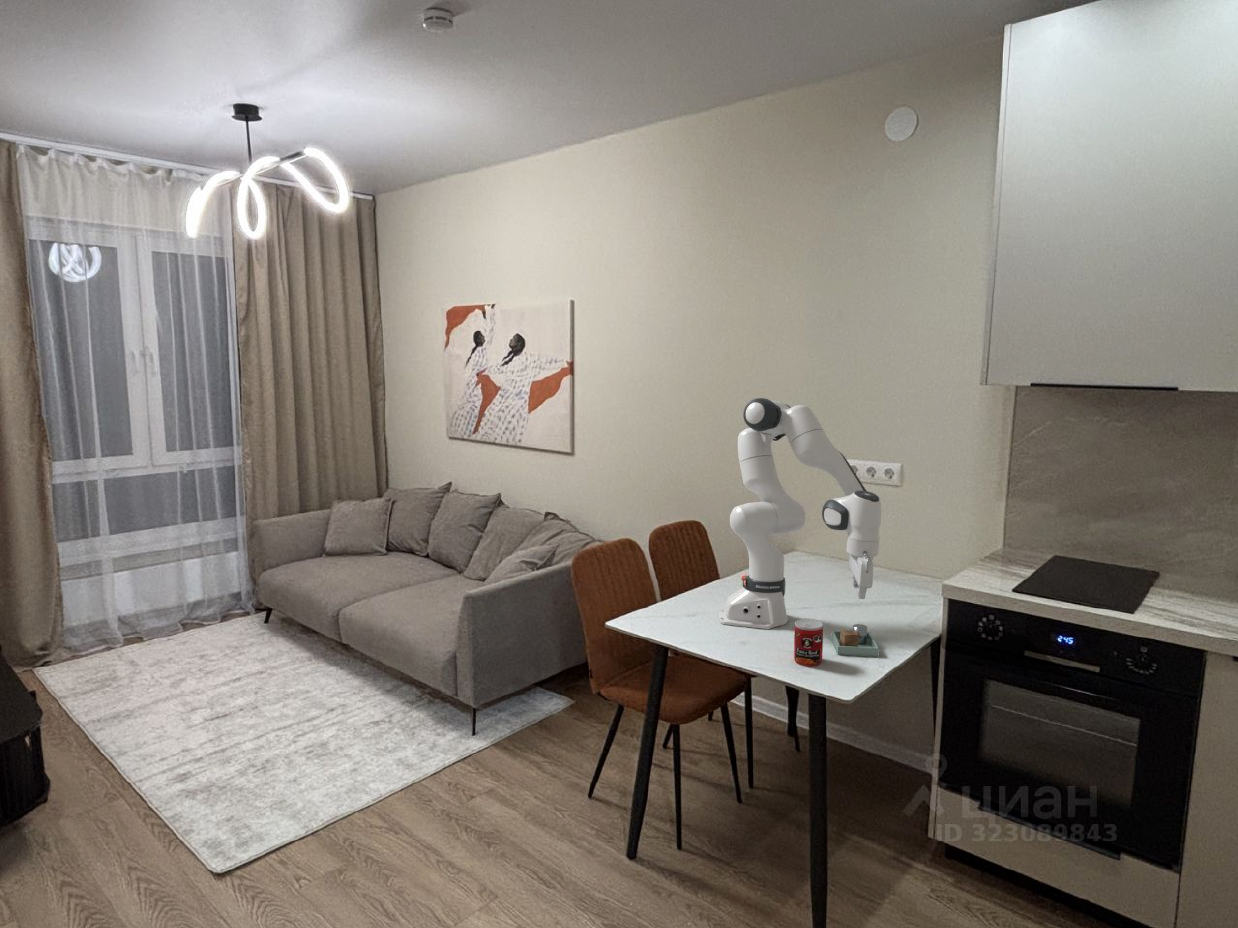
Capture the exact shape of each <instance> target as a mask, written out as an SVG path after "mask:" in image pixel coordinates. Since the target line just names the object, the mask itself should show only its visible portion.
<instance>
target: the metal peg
mask: <svg viewBox="0 0 1238 928" xmlns="http://www.w3.org/2000/svg"><path fill="white" fill-rule="evenodd" d="M852 630H854V631H855V632H856V633H857V634H858V635H859V637H858V645H866V644H867V632H868V626H867V625H865V624H861V623H860V624H859V623H855V624H853V625H852Z"/></svg>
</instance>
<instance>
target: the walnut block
mask: <svg viewBox="0 0 1238 928" xmlns="http://www.w3.org/2000/svg"><path fill="white" fill-rule="evenodd" d="M839 631H840V646H853V647H858V637H859V635H858V634H857V633H856V632H855V631H854V630H853V629H841V630H839Z"/></svg>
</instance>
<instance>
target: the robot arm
mask: <svg viewBox="0 0 1238 928" xmlns="http://www.w3.org/2000/svg"><path fill="white" fill-rule="evenodd" d="M742 415H743V420H744V423H745V424H746V426H748V427H747V428H745V429H743V430H741V431H740V432H739V434H738V436H737V456H738V462H739V467H740V474H741V478H742V483H743V486H744V487H745V489H746V490H748V491H749V492H751V493H753V494H755V496H757V498H758V499H759V501H758V502H757V501H755V502H747V503H742V504H740V505H737V506H735V507H733V509H732V510H731V512H730V515H729V525H730V528H731V531H733V533H734V534H735V535H736V536H738V537H739V538H740V539H741V540H742V541H743V543H744V545H745V547H746V550H747V553H748V560H749V561H748V572H749V573H748V575H747V574H745V573H743V574H742V575H741V576H740V577H741V578H740V579H741V581H742V587H741V588H739V589H738V590H736V591H735V592H734V593H732V594H731V595H730V594H729V596H728V597H727V599H726V601H725V605H724V608H721V609H720V610H719V611H718V613H717V614H718V615H717V620H718V622H719V623H720V624H723V625H724V626H734V627H735V626H737V627H745V628H755V629H764V630H770V629H772V628H774V627H780V626H784V625H785V624H787V623H788V622H789V618H788V615H787V610H786V603H785V595H786V585H787V584H786V582H787V581H786V578H785V556H784V553H783V551H781V550H780V549H779V548H777V547H776V546H774V545H772V542H771V536H778V535H787V534H791V533H795V532H797V531H799V530H802V528H803V526H804V524H805V523H806V511H805V509H804V507H803V506H802V504H800V502H798V501H797V500H795V499H793V498H792V497H791V496H790V495H789V494H788V493H787V492H786V490H785V488H784V487H783V486H782V483H781V482H780V480H779V476H778V471H777V469H776V464H775V459H774V455H773V451H772V441H775V442H777V441H779V440H780V439H782V438H783V437H785V436H786V438H787V440H788V442H789V445H790V447H791V450H792V452H793V454H794V456H795V457H796V459H798V461H799V462H800V463H801V464H803V465H804V466H808V467H811V468H814V469H818V470H821V471H822V472H823V471H824V472H826V473H828V474H829V475H831V476H832V477H833V478H834V479H835V481H836V482H837V484H838V485H839V487H840V489H841V490H842V492H843V494H844V495H845V496H842V497H834V498H831V499H828V500H826V502H825V503H824V504H823V506H822V510H821V517H822V521H823V523H824V525H826V526H827V528H829V529H830V530H834V531H846V532H847V537H846V538H847V539H846V553H847V554H848V564H849V565H848V566H849V569H850V571H851V573H852V579H853V581H852V586H853V587H854V588H855V589H858V591H857V593H858V595H857V597H858V599H859V600H865V599H866V593H867V590H868V589H872V587H873V581H874V579H873V578H874V562H873V560H874V557H878V555H879V548H880V547H879V546H880V535H879V534H880V533H879V531H880V527H881V525H882V503H881V499H880V497H879V495H877V494H876V493H874V492H871V491H868V490H867V489H866V487H865V486H864V485H863V483H862V482H861V480H860V478H859V477H858V475H857V474H856V472H855V470H854V469H853V467H852V466H851V464H850V463H849V461H848V460H847V458H846V457H845V455H844V454H843V453H842V452H841V451H839V450H838V448H836V447H835V445H834V444H833V443H832V442H831V440H830V439H829V437H828V436H827V434H826V432H825V430H824V429H823V426H822V425H821V422H820V421H819V419H818V418H817V416H816V415H815V413H814V412H813V411H812V409H811V408H810V407H809V406H808V405H803V404H797V405H793V406H790V405H789V404H786V403H783V402H781V401H778V400H772V399H769V398H764V397H757V398H753V399H752V400H750V401H748V403H747V404H746V405H745V406H744V409H743V413H742Z"/></svg>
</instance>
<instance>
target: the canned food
mask: <svg viewBox="0 0 1238 928" xmlns="http://www.w3.org/2000/svg"><path fill="white" fill-rule="evenodd" d="M793 639H794V640H793V641H794V643H793V660H794V662H795V663H796V664H798V665H800V666H803V667H817V666H819V665H821V664H822V661H823V649H824V648H823V647H824V645H823V644H824V641H823V640H824V623H823V622H821V621H819V620H816V619H811V618H802V619H798V620H795V622H794V638H793Z"/></svg>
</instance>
